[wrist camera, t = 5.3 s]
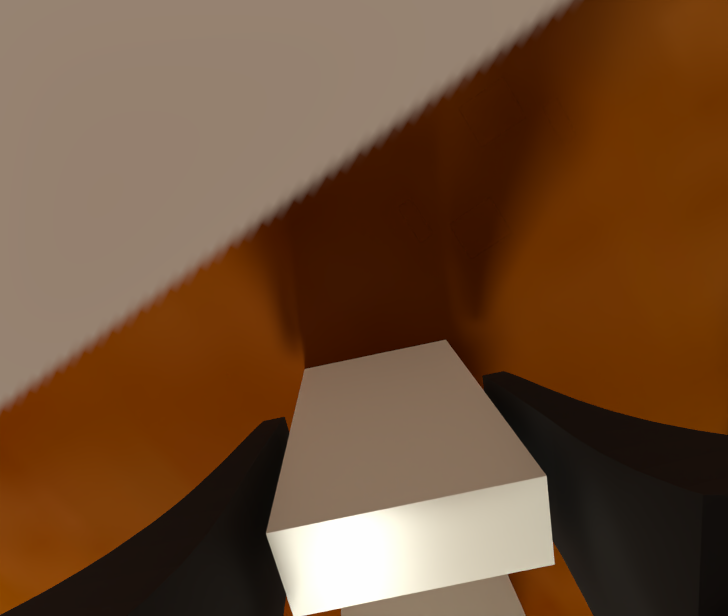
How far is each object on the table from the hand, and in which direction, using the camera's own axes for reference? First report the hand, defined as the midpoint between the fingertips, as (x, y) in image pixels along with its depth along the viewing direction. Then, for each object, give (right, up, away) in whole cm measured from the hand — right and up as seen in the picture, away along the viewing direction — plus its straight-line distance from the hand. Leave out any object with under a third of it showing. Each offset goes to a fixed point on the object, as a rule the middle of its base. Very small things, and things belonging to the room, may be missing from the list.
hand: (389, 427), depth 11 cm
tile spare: (0, +1, +3) cm, 3 cm away
